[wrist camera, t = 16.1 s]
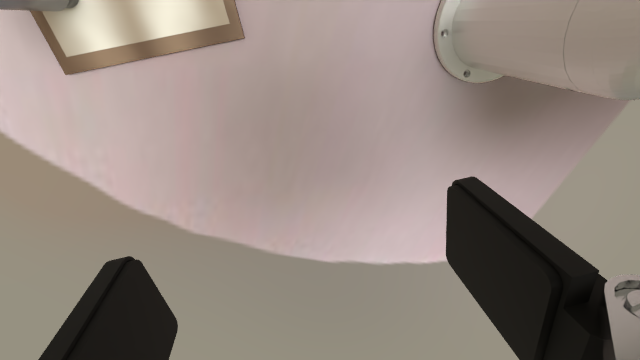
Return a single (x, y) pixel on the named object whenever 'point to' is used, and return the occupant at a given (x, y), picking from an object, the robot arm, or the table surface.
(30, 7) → the marker
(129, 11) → the clipboard
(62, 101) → the table surface
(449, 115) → the table surface
